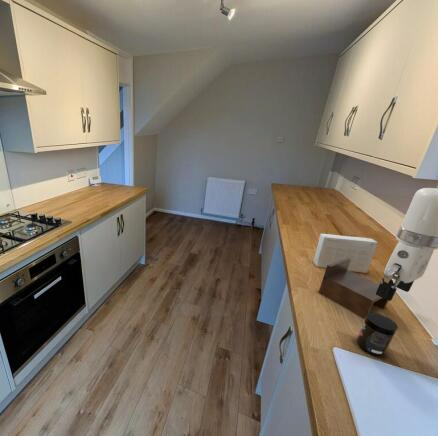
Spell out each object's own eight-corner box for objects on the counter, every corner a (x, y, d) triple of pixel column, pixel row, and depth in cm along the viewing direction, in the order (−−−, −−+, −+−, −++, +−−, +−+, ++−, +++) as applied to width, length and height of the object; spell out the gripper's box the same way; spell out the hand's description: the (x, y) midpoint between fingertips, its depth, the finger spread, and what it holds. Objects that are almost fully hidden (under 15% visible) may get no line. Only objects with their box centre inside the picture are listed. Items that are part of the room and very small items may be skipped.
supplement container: (375, 341, 75) (387, 314, 71) (390, 359, 69) (404, 332, 65) (350, 336, 76) (361, 311, 72) (363, 354, 70) (375, 327, 66)
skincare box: (361, 267, 115) (372, 238, 109) (367, 273, 110) (379, 243, 105) (311, 261, 120) (320, 232, 115) (315, 266, 115) (324, 237, 110)
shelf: (385, 307, 89) (398, 278, 84) (365, 319, 83) (378, 288, 79) (338, 284, 103) (347, 257, 98) (318, 292, 97) (327, 265, 92)
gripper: (424, 250, 53) (394, 310, 59) (454, 238, 60) (424, 293, 66) (382, 236, 60) (358, 292, 66) (414, 227, 66) (390, 278, 72)
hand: (392, 293), depth 66 cm, fingers open, 9 cm apart
